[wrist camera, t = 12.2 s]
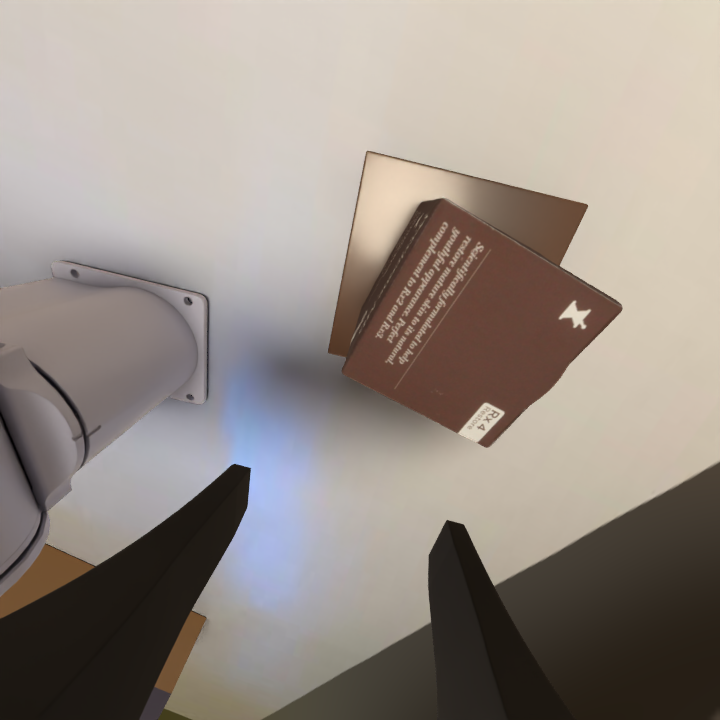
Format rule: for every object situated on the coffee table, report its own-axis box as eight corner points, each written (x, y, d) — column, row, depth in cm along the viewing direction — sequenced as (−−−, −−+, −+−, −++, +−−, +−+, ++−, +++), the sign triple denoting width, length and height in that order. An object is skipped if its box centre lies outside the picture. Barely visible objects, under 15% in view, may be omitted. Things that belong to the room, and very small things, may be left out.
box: (422, 197, 14) (444, 186, 8) (530, 264, 15) (635, 306, 9) (358, 310, 17) (334, 375, 10) (454, 363, 18) (488, 455, 11)
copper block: (333, 340, 20) (327, 353, 18) (369, 156, 16) (366, 150, 14) (488, 378, 20) (497, 395, 18) (567, 205, 16) (589, 204, 14)
